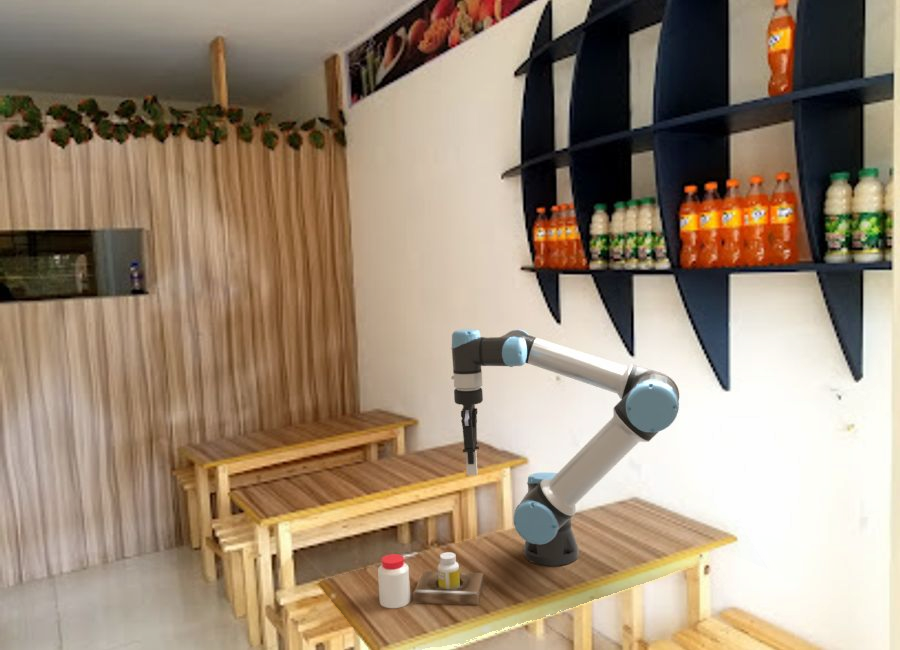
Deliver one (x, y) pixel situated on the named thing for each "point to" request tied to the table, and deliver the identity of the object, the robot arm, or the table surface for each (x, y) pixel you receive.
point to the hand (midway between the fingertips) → (472, 474)
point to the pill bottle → (394, 582)
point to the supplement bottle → (448, 571)
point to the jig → (463, 595)
